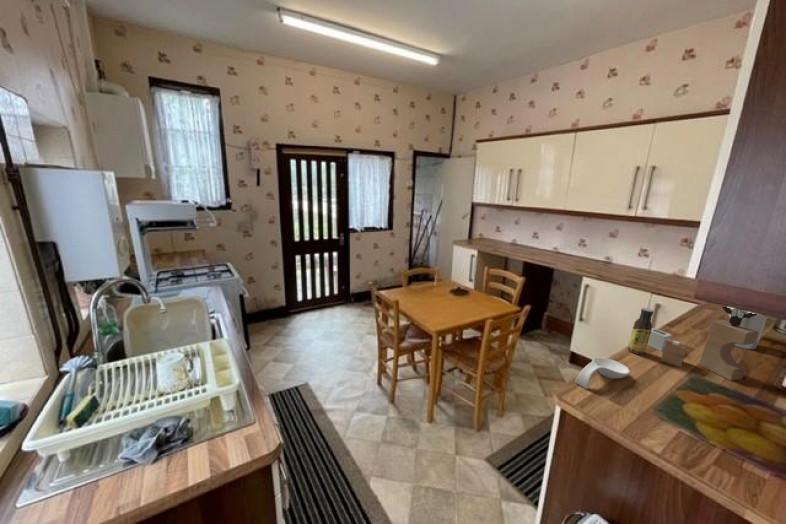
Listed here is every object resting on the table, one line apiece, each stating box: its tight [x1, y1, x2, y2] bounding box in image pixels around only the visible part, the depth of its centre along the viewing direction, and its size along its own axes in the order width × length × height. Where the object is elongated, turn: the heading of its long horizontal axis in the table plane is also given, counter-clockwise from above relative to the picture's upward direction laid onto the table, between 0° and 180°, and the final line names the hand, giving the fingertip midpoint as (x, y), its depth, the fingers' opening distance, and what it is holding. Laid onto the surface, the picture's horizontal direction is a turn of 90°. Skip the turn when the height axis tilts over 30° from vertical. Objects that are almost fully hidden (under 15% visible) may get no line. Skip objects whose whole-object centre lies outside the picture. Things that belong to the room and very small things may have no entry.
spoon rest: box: [574, 356, 631, 390], centre depth 117 cm, size 24×12×7 cm, turn 118°
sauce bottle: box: [626, 307, 655, 355], centre depth 133 cm, size 7×6×20 cm
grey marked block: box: [647, 327, 672, 352], centre depth 140 cm, size 5×7×7 cm
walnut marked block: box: [661, 338, 687, 368], centre depth 128 cm, size 6×6×8 cm
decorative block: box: [698, 318, 758, 382], centre depth 120 cm, size 11×6×20 cm, turn 11°
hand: (734, 325), depth 117 cm, fingers closed
